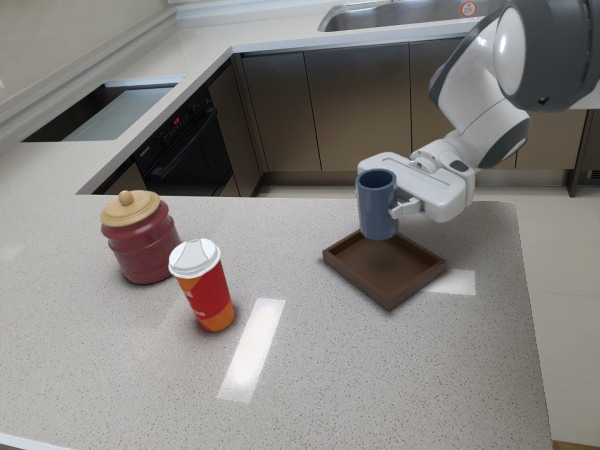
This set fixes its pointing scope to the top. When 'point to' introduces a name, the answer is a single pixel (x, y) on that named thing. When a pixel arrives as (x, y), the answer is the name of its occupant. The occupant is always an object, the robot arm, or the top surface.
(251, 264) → the top surface
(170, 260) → the coffee cup
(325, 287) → the top surface
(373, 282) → the tray
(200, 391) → the top surface
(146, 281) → the kitchen canister
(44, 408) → the top surface
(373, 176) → the tumbler
